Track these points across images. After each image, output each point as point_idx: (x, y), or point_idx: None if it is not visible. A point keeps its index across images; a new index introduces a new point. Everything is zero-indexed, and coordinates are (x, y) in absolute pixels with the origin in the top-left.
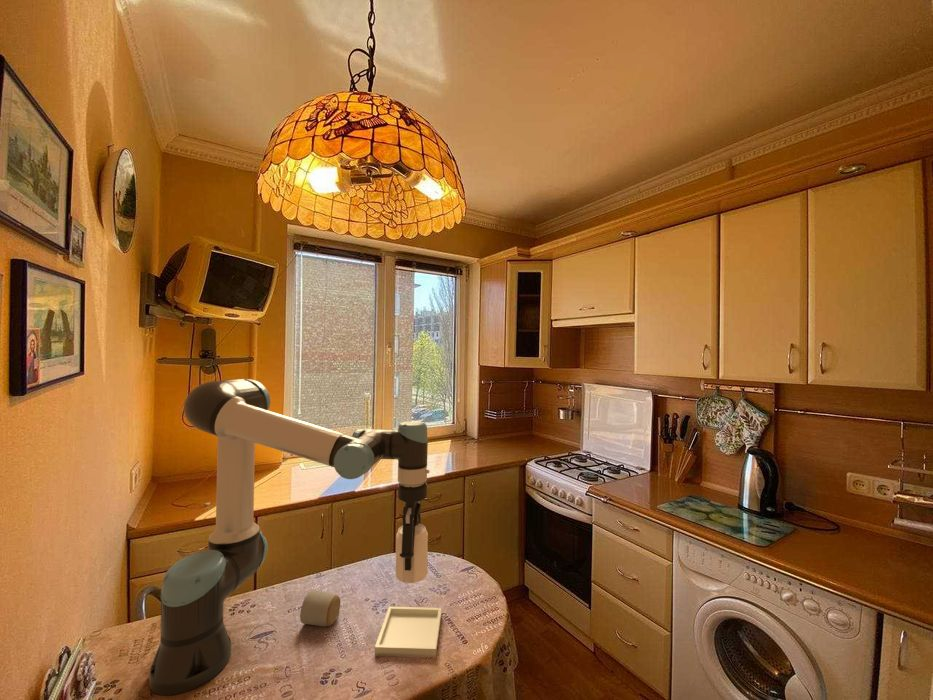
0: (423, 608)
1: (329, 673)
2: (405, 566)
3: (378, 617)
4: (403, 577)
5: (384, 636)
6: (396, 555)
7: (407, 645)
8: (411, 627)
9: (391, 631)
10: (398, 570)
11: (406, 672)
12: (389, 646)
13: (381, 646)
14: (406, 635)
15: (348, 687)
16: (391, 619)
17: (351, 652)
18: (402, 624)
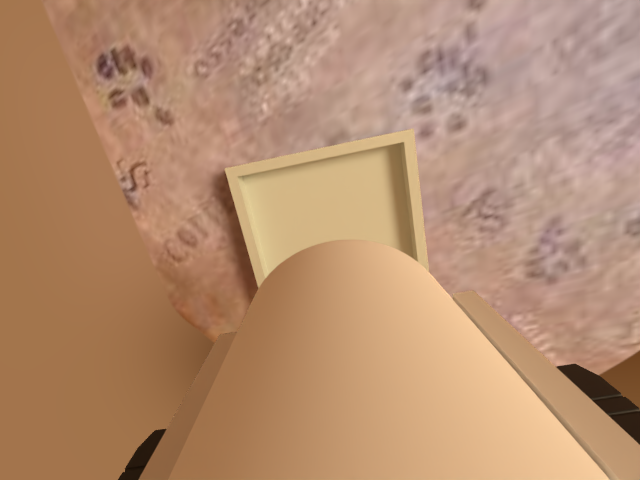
0: (421, 250)
1: (133, 66)
2: (125, 475)
3: (383, 100)
4: (209, 358)
5: (297, 166)
6: (247, 357)
7: (282, 245)
8: (350, 231)
9: (321, 179)
10: (247, 315)
11: (211, 268)
12: (240, 210)
13: (233, 187)
14: (317, 229)
15: (119, 148)
16: (372, 156)
17: (220, 89)
18: (357, 200)
